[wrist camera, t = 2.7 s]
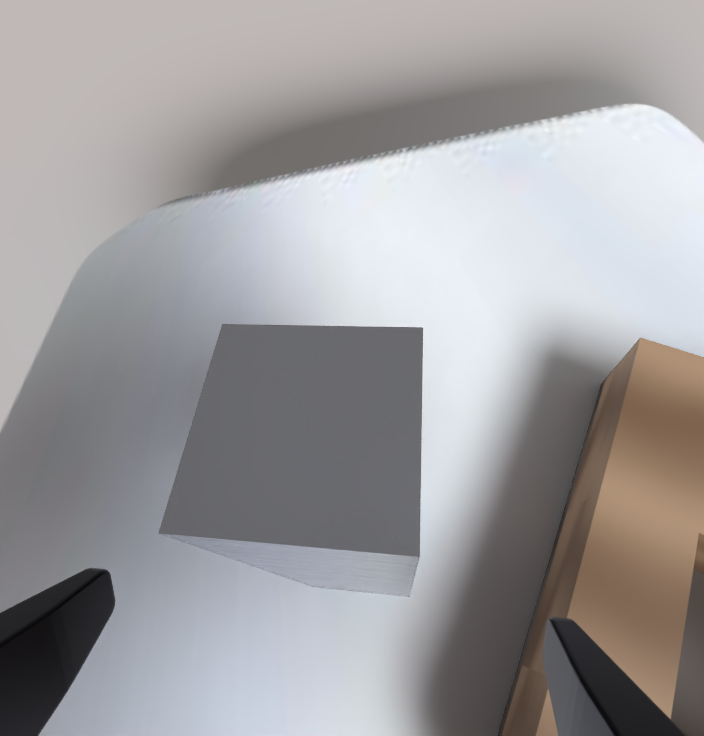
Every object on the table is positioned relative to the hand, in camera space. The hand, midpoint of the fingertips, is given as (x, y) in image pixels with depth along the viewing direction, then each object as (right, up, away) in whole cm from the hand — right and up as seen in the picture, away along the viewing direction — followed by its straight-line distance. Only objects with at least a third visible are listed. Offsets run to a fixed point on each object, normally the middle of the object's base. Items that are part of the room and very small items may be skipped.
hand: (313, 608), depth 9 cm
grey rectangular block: (+1, -3, +10) cm, 10 cm away
